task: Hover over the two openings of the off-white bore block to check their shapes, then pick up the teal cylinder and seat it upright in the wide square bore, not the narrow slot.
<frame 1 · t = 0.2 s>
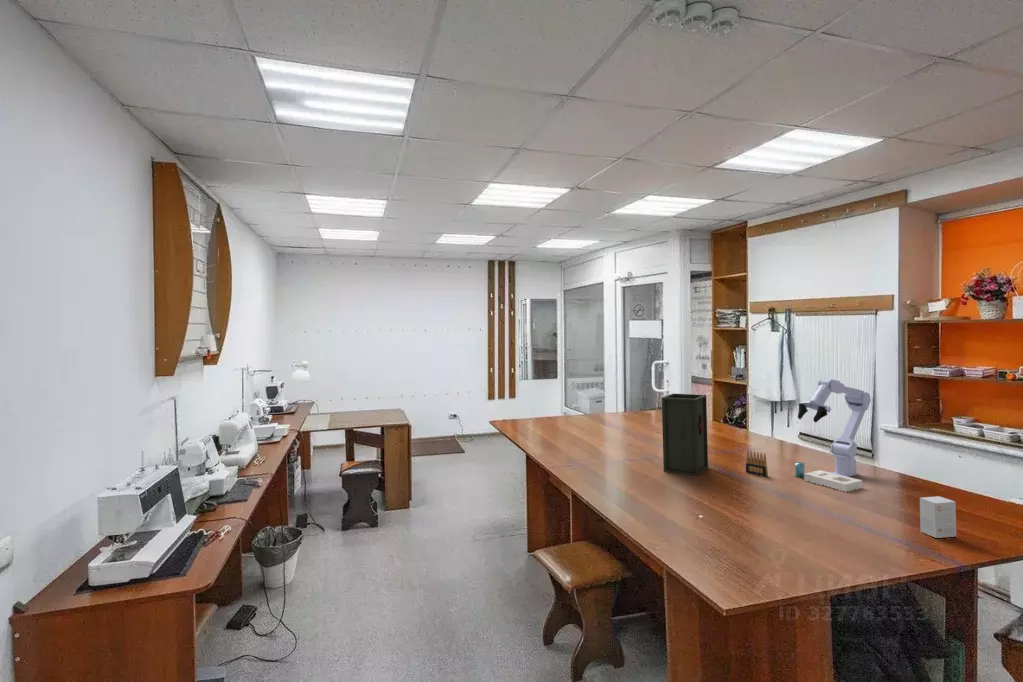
hand: (806, 419, 241), 31 cm above the table, tool tilted 45°, fingers open, 7 cm apart
ammunition clip: (756, 474, 258), on the table
small box: (938, 535, 179), on the table
teal cylinder: (800, 476, 251), on the table
dark green bin: (686, 469, 271), on the table
bore block: (832, 484, 238), on the table
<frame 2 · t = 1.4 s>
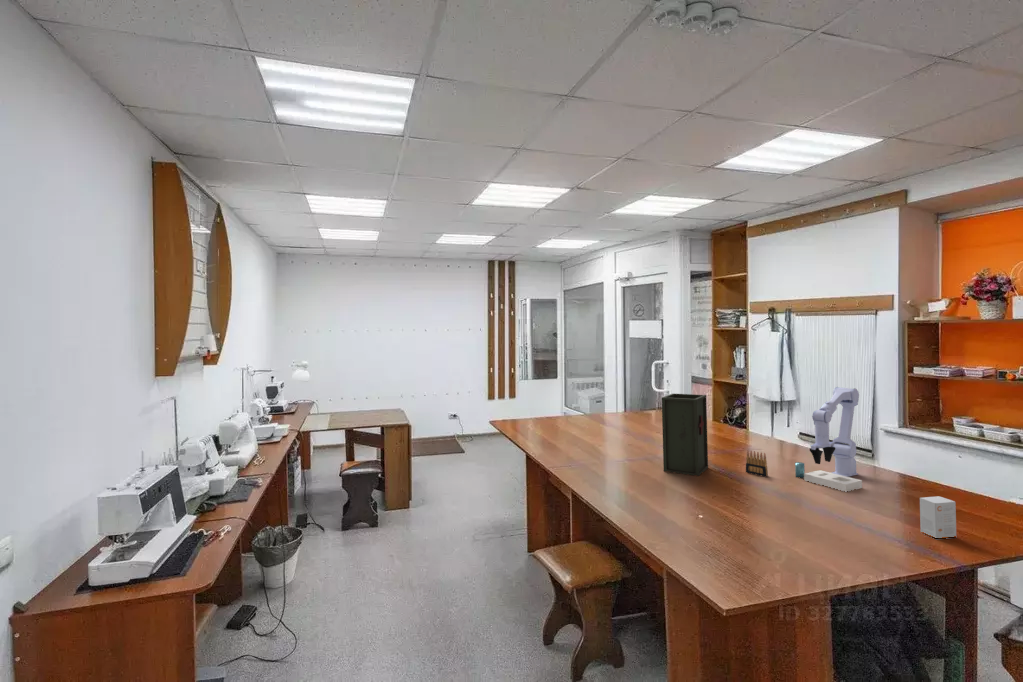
hand: (822, 462, 242), 9 cm above the table, tool pointing down, fingers open, 7 cm apart
nothing on the table moved.
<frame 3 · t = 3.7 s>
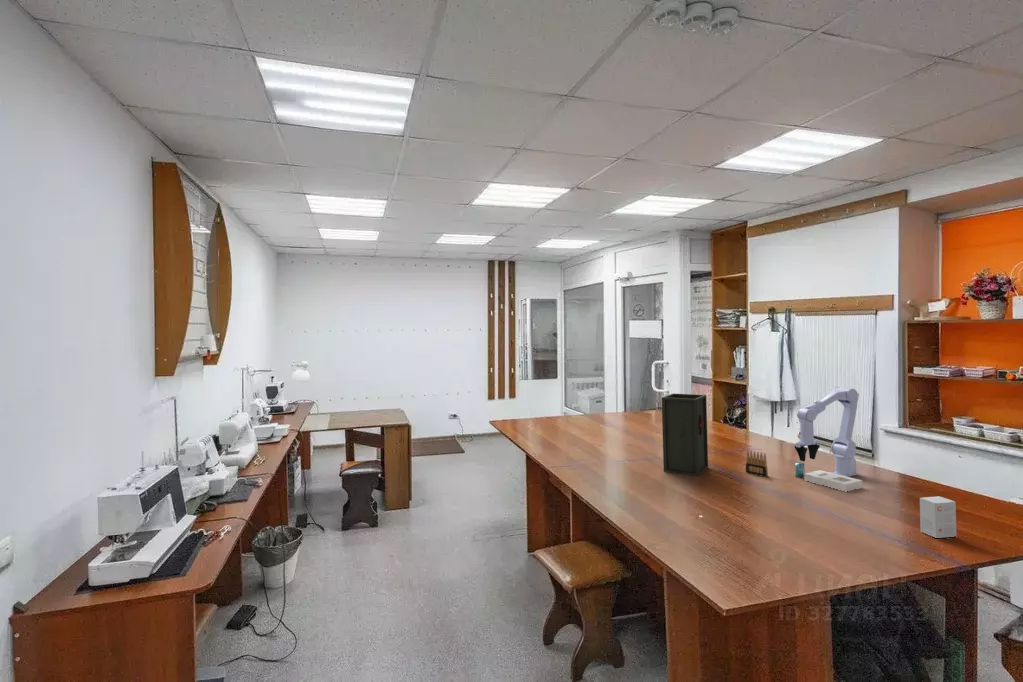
hand: (807, 459, 247), 9 cm above the table, tool pointing down, fingers open, 7 cm apart
nothing on the table moved.
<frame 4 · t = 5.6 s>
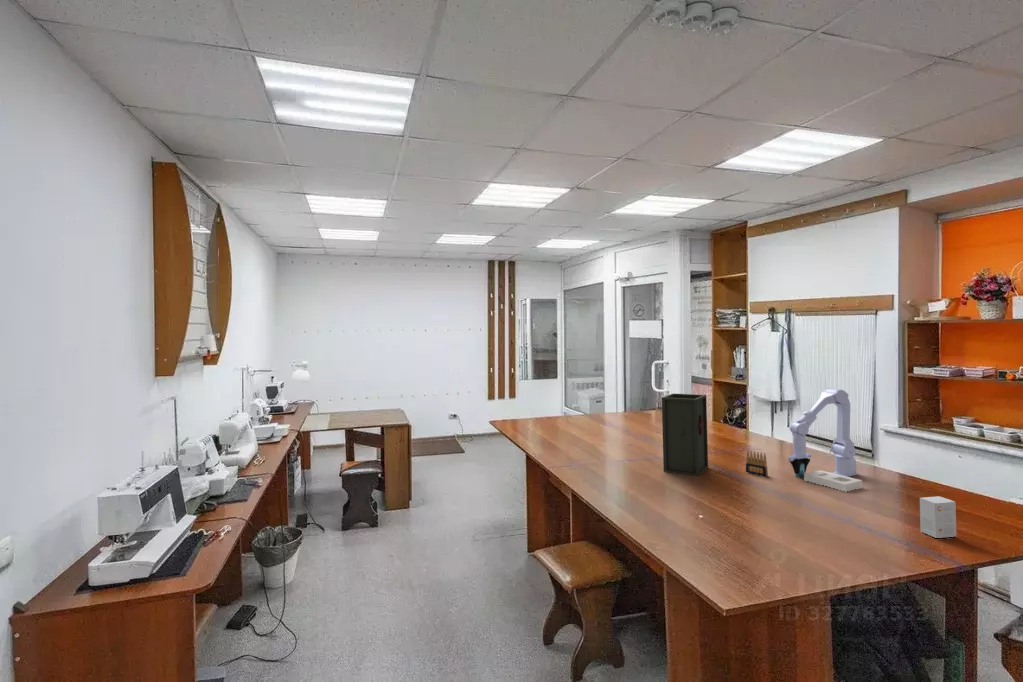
hand: (800, 473, 251), 2 cm above the table, tool pointing down, fingers closed on teal cylinder, 4 cm apart
teal cylinder: (800, 476, 251), on the table, touching gripper
everything else where it was.
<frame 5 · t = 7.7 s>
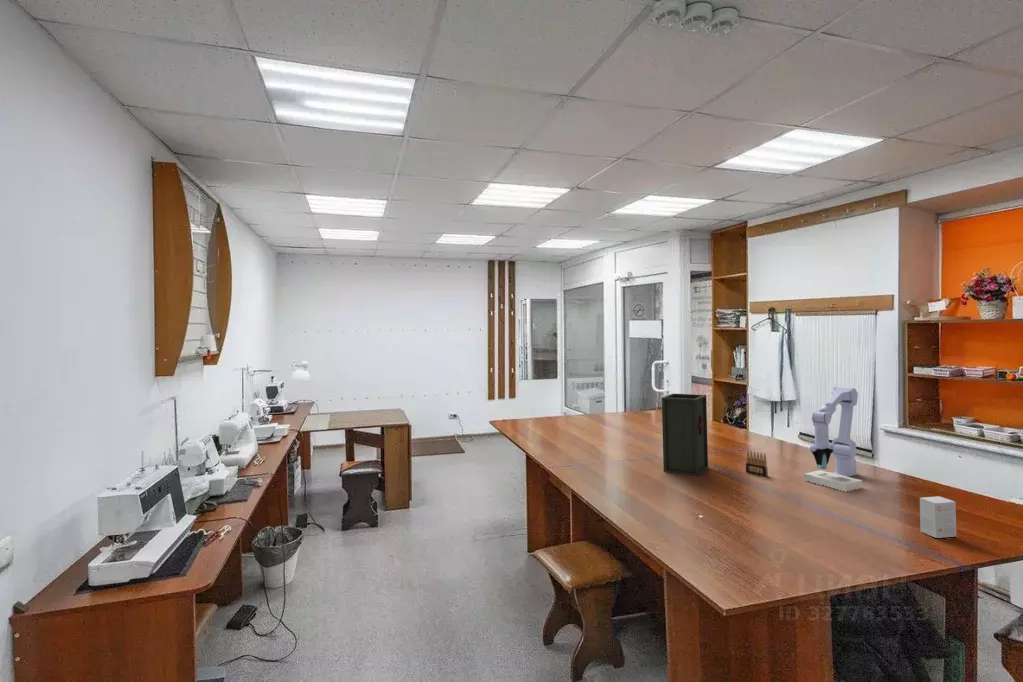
hand: (822, 464, 241), 9 cm above the table, tool pointing down, fingers closed on teal cylinder, 4 cm apart
teal cylinder: (822, 468, 241), point 7 cm above the table, touching gripper
everything else where it was.
when the fingers open (4 cm above the table, at t = 9.9 s): teal cylinder drops 2 cm, resting in bore block.
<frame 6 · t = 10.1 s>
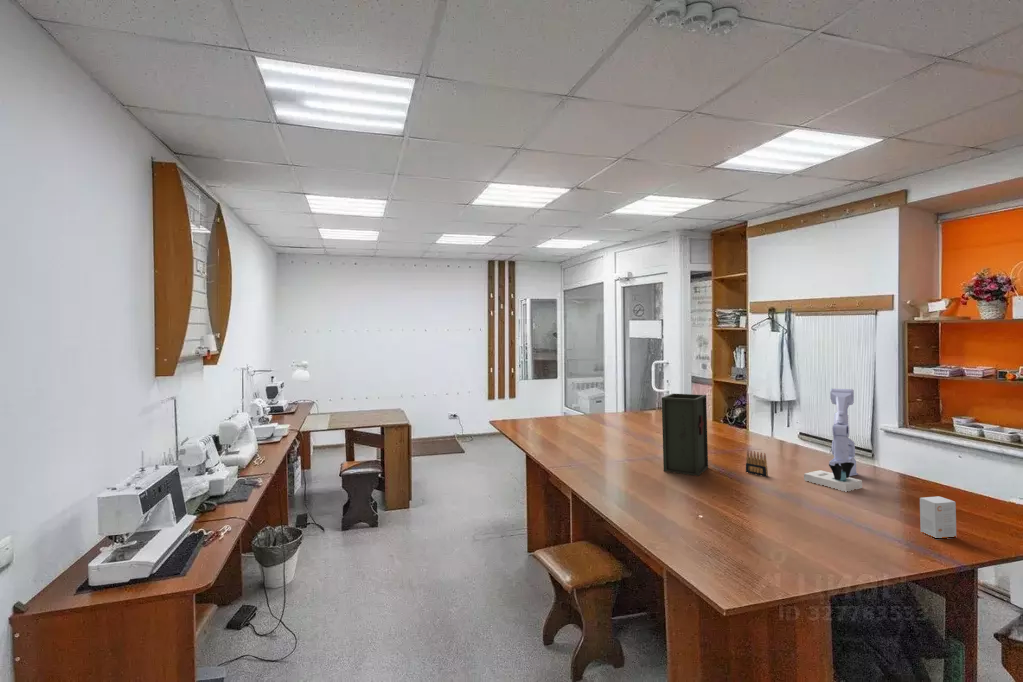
hand: (841, 478, 234), 4 cm above the table, tool pointing down, fingers open, 6 cm apart
teal cylinder: (841, 486, 234), resting in bore block
everything else where it was.
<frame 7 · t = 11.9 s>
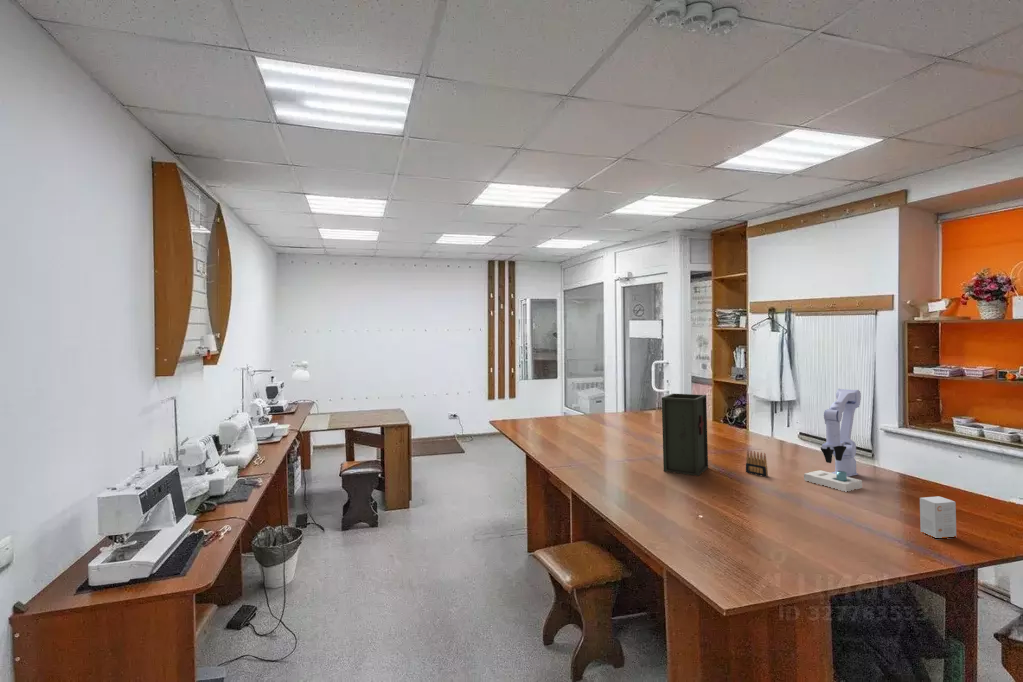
hand: (833, 461, 243), 9 cm above the table, tool pointing down, fingers open, 7 cm apart
nothing on the table moved.
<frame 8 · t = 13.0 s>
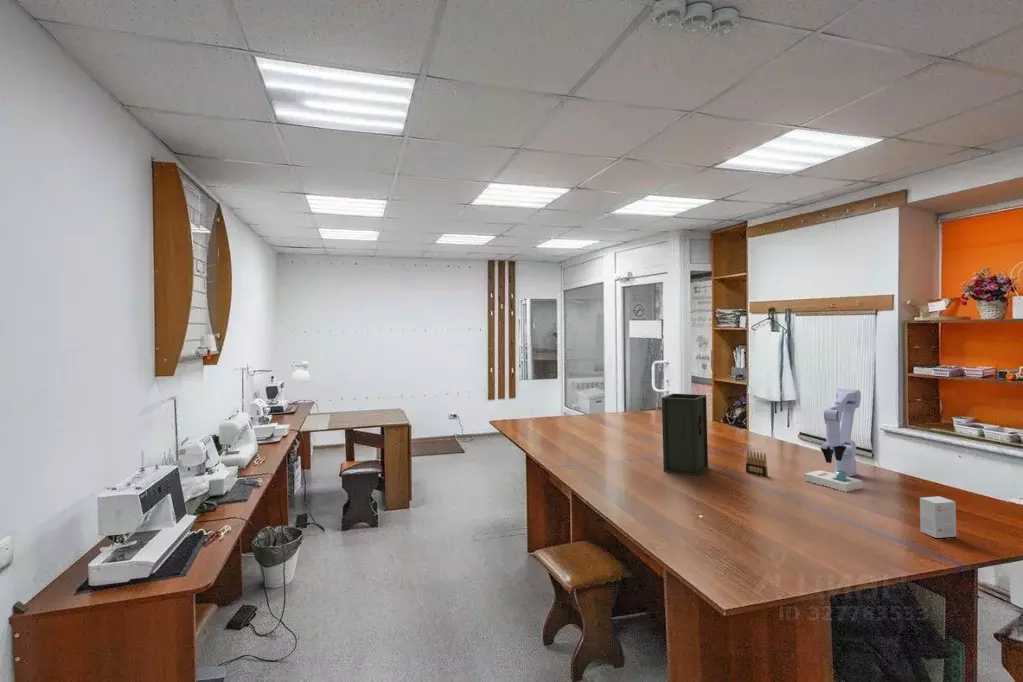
hand: (833, 461, 243), 9 cm above the table, tool pointing down, fingers open, 7 cm apart
nothing on the table moved.
at the end: teal cylinder 0.1 cm from the target spot on the bore block, point 0.0 cm above the bore block's base; teal cylinder tilted 0°; the gripper is holding nothing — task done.
